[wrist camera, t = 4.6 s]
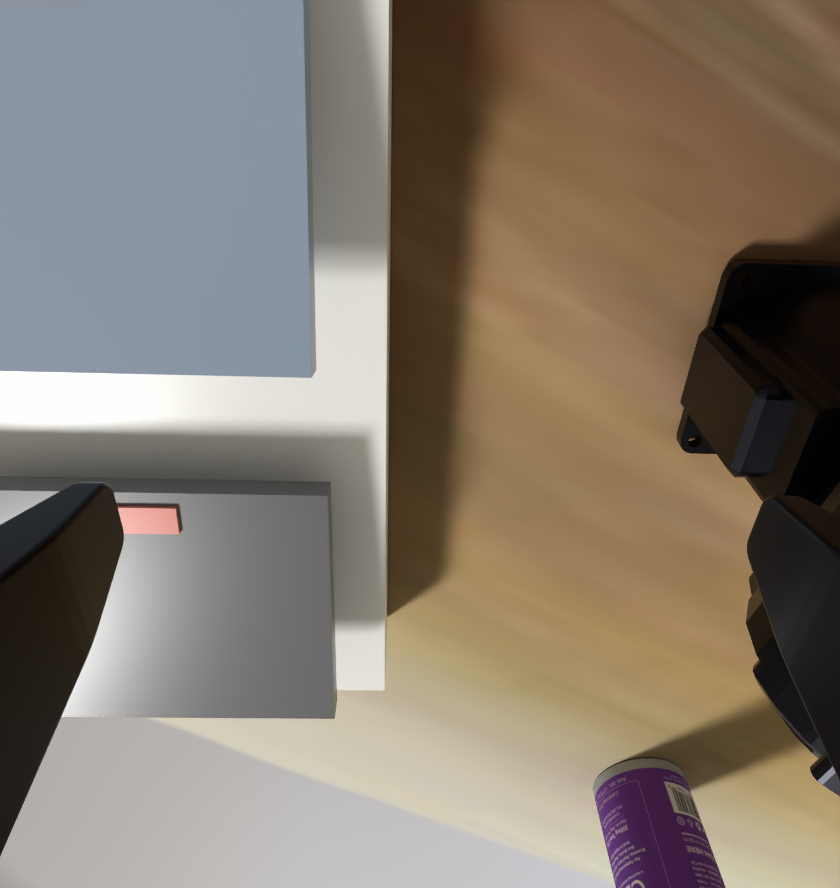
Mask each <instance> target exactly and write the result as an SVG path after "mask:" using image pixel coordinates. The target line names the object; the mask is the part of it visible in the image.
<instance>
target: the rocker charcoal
mask: <svg viewBox="0 0 840 888" xmlns="http://www.w3.org/2000/svg"><path fill="white" fill-rule="evenodd" d="M77 482H104V483H107V484H108V485H110V486H111V488H112V490H113V492H114V496H115V499H116V503H117V507H118V511H119V515H120V518H121V522H122V526H123V530H124V542H123V548H122V551H121V554H120V558H119V561H118V564H117V567H116V571H115V574H114V577H113V581H112V584H111V587H110V590H109V594H108V597H107V600H106V604H105V607H104V610H103V613H102V617H101V620H100V623H99V627H98V630H97V633H96V636H95V639H94V642H93V644H92V647H91V649H90V652H89V654H88V657H87V659H86V662H85V664H84V666H83V668H82V671H81V673H80V675H79V678H78V680H77V682H76V684H75V687H74V689H73V691H72V694H71V696H70V698H69V700H68V703H67V705H66V707H65V710H64V712H63V714H62V716H61V717H171V718H321V719H335V712H336V703H337V681H336V647H335V612H334V577H333V543H332V508H331V482H314V481H257V480H200V479H143V478H86V477H29V476H0V525H1V524H2V523H4V522H6V521H8V520H10V519H11V518H13V517H15V516H17V515H18V514H20V513H22V512H24V511H26V510H27V509H29V508H31V507H33V506H35V505H36V504H38V503H40V502H42V501H43V500H45V499H47V498H49V497H51V496H52V495H54V494H56V493H58V492H59V491H61V490H63V489H65V488H67V487H68V486H70V485H72V484H74V483H77Z"/></svg>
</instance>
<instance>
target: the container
mask: <svg viewBox="0 0 840 888" xmlns="http://www.w3.org/2000/svg"><path fill="white" fill-rule="evenodd" d="M593 791H594V796H595V801H596V805H597V809H598V814H599V818H600V822H601V826H602V830H603V835H604V839H605V843H606V847H607V851H608V856H609V860H610V864H611V868H612V872H613V877H614V881H615V885H616V888H725V885H724V882H723V879H722V877H721V874H720V871H719V868H718V866H717V863H716V860H715V858H714V855H713V852H712V849H711V847H710V844H709V841H708V838H707V836H706V833H705V830H704V828H703V825H702V822H701V819H700V817H699V814H698V811H697V808H696V806H695V803H694V800H693V797H692V795H691V792H690V789H689V787H688V784H687V781H686V779H685V776H684V774H683V772H682V770H681V769H680V768H679V767H678V766H676V765H675V764H673V763H671V762H668V761H666V760H662V759H655V758H640V759H633V760H628V761H625V762H621V763H619V764H616V765H614V766H612V767H610V768H608V769H607V770H605V771H604V772H603V773H602V774H601V775H600V776H599V777H598V778H597V779H596V781H595V783H594V787H593Z"/></svg>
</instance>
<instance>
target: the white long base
mask: <svg viewBox="0 0 840 888" xmlns="http://www.w3.org/2000/svg"><path fill="white" fill-rule="evenodd" d="M309 27H310V78H311V128H312V179H313V229H314V279H315V330H316V372H315V373H314V375H313V376H312V378H292V377H247V376H202V375H157V374H112V373H67V372H22V371H0V476H29V477H86V478H143V479H200V480H257V481H314V482H331V508H332V543H333V577H334V612H335V647H336V681H337V690H385V664H386V635H387V569H388V454H389V338H390V222H391V107H392V0H309Z"/></svg>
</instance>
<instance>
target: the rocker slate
mask: <svg viewBox="0 0 840 888" xmlns="http://www.w3.org/2000/svg"><path fill="white" fill-rule="evenodd" d="M0 371H22V372H67V373H112V374H157V375H202V376H247V377H292V378H312V376H313V375H314V373H315V372H316V330H315V279H314V229H313V179H312V128H311V78H310V27H309V0H0Z"/></svg>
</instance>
